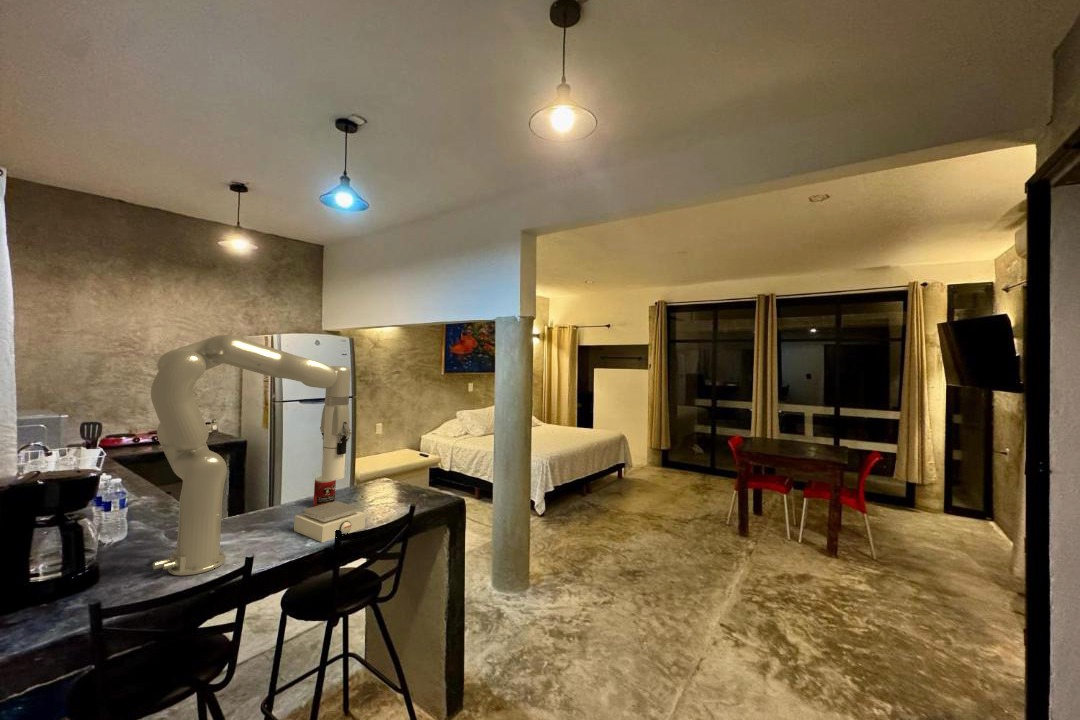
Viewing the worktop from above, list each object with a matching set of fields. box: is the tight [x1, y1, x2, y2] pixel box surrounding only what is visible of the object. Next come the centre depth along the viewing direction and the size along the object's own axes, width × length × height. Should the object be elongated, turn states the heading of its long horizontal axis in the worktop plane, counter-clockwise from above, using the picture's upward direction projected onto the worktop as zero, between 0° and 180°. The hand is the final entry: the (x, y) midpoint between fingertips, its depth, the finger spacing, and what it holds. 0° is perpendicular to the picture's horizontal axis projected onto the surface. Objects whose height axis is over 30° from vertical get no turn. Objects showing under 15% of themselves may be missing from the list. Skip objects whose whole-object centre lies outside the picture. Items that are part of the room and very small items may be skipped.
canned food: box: [313, 475, 337, 507], centre depth 173 cm, size 8×8×11 cm
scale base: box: [293, 511, 367, 543], centre depth 150 cm, size 16×17×5 cm
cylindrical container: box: [320, 406, 346, 481], centre depth 150 cm, size 7×7×25 cm
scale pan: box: [301, 500, 360, 522], centre depth 150 cm, size 13×13×1 cm
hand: (334, 452), depth 150 cm, fingers closed on cylindrical container, 7 cm apart
